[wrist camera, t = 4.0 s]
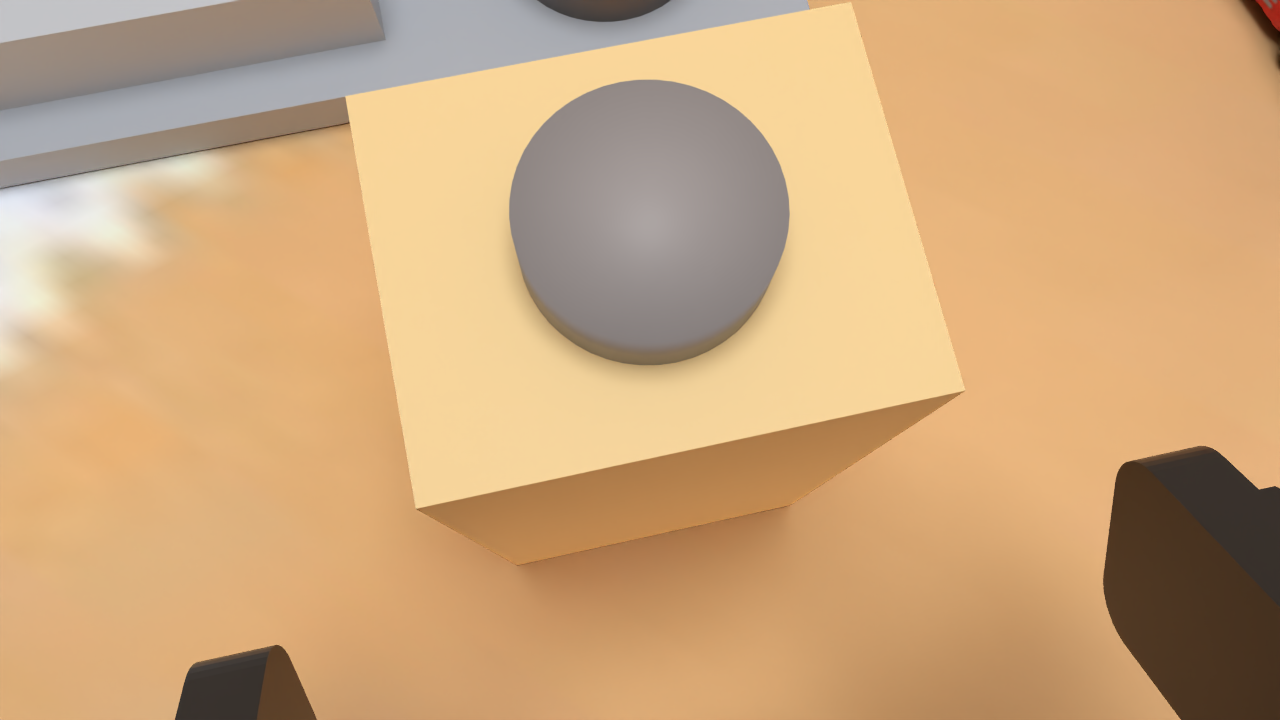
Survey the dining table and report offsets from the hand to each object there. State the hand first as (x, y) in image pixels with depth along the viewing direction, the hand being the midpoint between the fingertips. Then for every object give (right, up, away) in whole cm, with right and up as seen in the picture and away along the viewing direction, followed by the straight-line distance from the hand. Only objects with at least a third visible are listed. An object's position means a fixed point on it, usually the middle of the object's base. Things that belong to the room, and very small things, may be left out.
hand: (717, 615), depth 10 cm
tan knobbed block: (-1, +1, +9) cm, 9 cm away
